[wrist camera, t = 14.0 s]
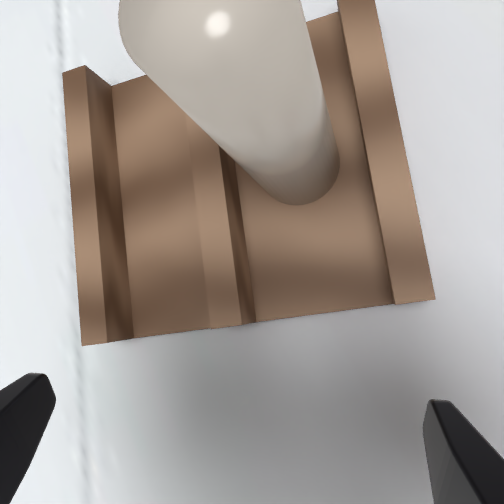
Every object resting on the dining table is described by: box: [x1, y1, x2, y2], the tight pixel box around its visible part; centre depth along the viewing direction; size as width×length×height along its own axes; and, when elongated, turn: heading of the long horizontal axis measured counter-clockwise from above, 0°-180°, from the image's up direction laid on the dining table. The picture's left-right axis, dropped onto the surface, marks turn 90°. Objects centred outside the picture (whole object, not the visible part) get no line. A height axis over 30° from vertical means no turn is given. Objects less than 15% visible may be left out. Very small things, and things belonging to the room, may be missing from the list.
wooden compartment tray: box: [62, 0, 435, 346], centre depth 22 cm, size 16×18×4 cm
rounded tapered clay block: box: [118, 0, 340, 205], centre depth 16 cm, size 4×4×13 cm
